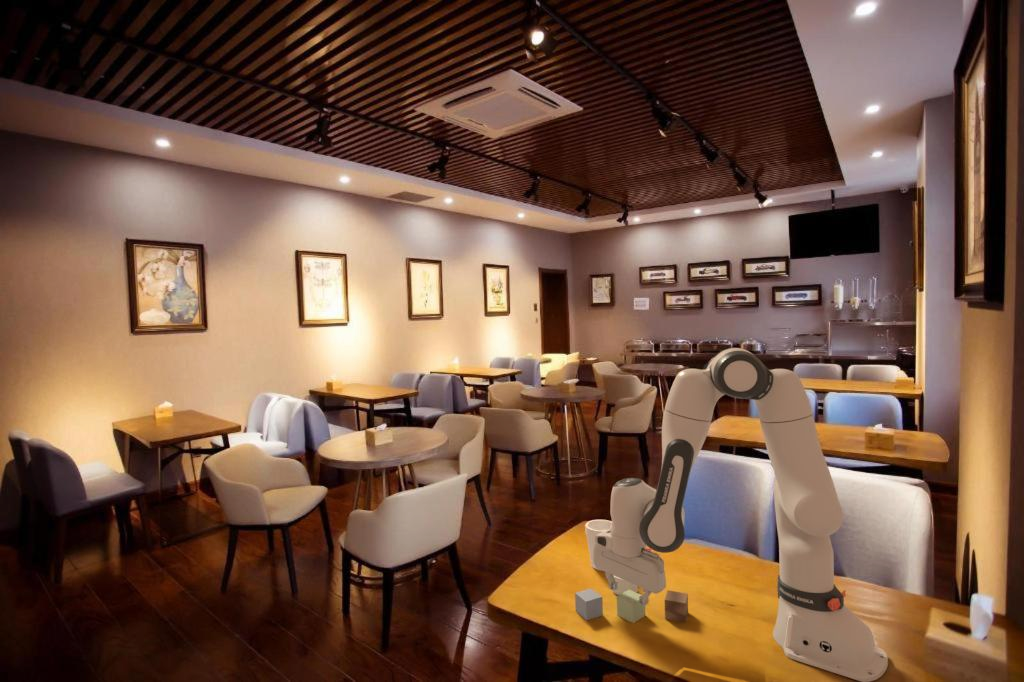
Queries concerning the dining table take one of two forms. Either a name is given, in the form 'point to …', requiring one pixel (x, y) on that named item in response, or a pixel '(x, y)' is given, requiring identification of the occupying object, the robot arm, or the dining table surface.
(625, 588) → the cube offwhite
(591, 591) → the cube slate
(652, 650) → the dining table surface
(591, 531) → the foam cup
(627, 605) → the cube sage
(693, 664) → the dining table surface
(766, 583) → the dining table surface
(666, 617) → the cube walnut
